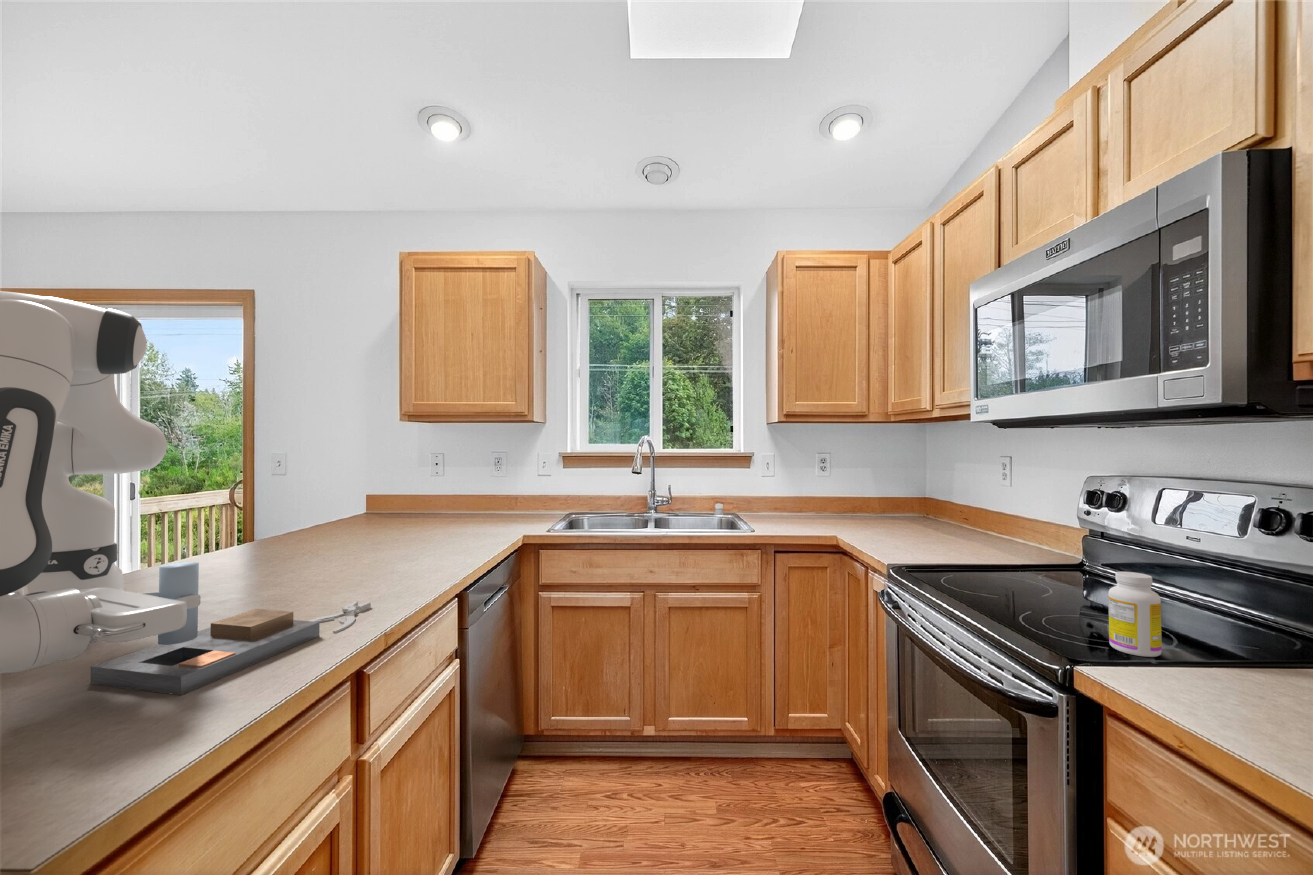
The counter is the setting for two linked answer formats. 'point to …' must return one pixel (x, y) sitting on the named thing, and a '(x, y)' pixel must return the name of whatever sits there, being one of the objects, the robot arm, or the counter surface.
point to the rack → (206, 653)
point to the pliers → (348, 611)
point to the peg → (174, 585)
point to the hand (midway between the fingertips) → (185, 597)
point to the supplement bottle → (1135, 615)
